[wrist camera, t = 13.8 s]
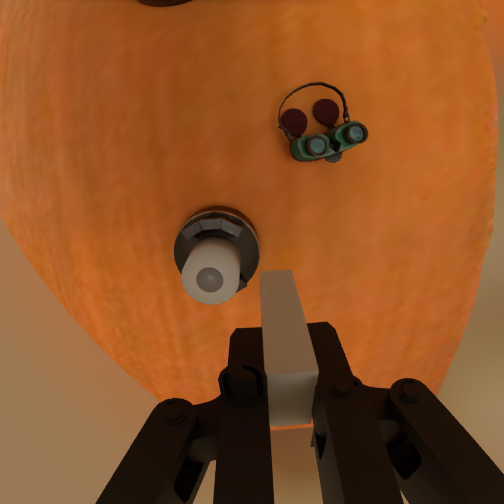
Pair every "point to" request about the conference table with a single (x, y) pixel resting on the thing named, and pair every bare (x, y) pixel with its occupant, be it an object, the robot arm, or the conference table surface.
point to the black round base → (226, 225)
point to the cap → (212, 270)
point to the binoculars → (320, 144)
